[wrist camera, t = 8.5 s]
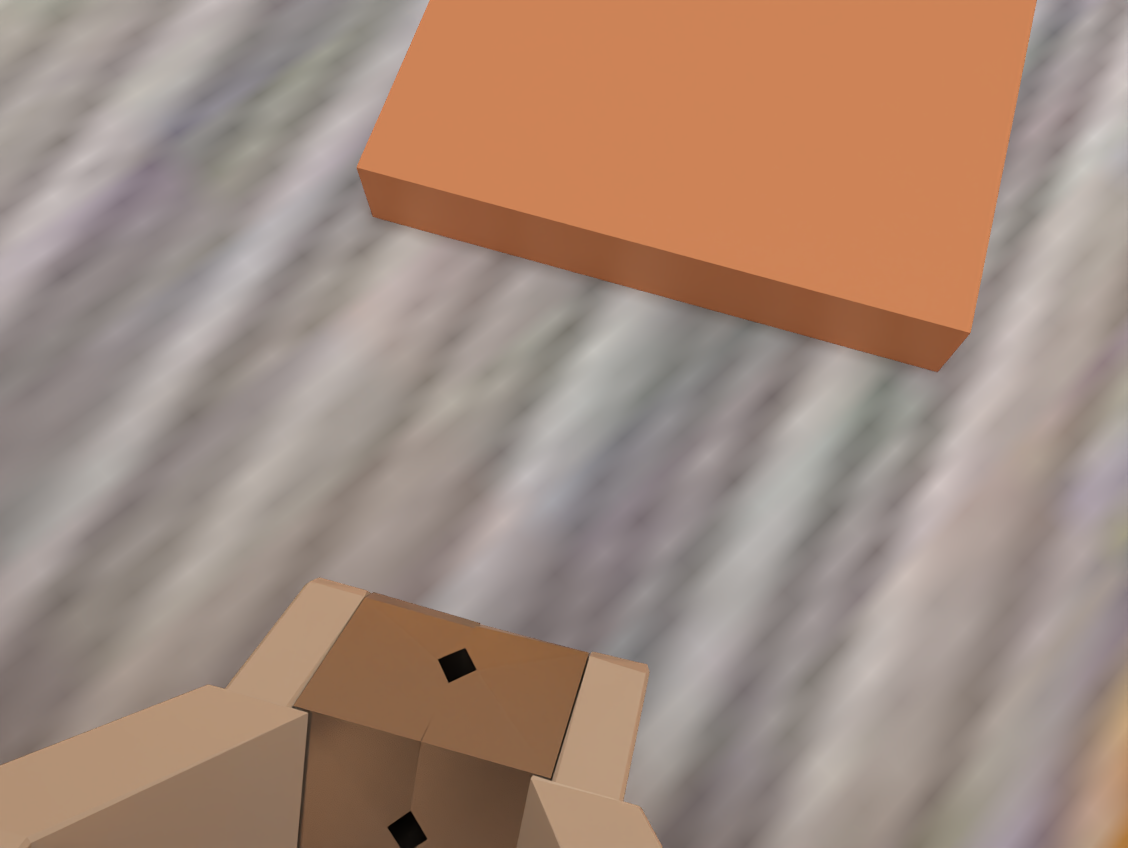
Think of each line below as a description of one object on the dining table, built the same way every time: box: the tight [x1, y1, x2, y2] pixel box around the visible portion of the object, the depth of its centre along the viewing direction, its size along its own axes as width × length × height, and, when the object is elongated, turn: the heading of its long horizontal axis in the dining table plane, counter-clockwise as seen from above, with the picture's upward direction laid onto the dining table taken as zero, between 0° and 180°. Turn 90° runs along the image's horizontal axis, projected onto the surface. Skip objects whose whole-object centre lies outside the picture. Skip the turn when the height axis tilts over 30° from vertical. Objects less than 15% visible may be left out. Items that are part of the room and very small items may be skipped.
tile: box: [357, 0, 1037, 372], centre depth 23 cm, size 2×12×11 cm
